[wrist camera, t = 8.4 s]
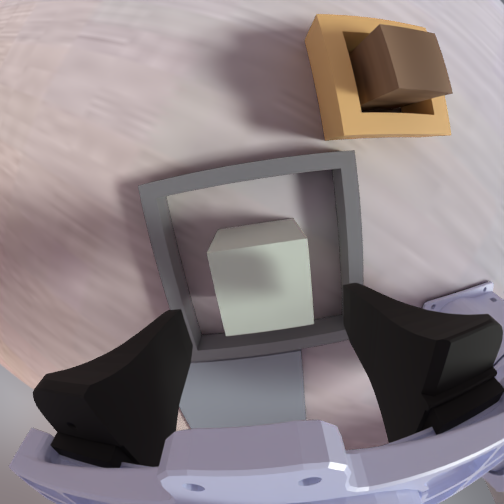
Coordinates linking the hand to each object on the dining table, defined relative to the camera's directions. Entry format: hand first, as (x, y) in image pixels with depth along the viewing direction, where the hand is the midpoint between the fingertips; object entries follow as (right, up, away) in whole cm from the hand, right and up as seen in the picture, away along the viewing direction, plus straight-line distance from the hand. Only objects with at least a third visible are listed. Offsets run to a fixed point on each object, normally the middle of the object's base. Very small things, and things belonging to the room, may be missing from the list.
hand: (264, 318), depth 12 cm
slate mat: (-2, -11, +12) cm, 16 cm away
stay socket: (+7, +14, +3) cm, 16 cm away
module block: (0, +2, +7) cm, 8 cm away
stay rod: (+7, +14, +3) cm, 16 cm away
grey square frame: (0, +2, +7) cm, 8 cm away
